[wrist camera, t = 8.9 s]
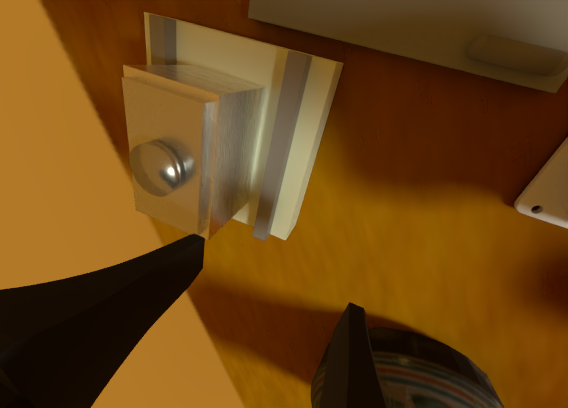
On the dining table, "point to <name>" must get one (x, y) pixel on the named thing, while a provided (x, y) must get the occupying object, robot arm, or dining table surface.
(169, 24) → the stand
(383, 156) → the dining table surface
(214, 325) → the dining table surface
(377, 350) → the beer stein
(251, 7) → the mat
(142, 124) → the housing
